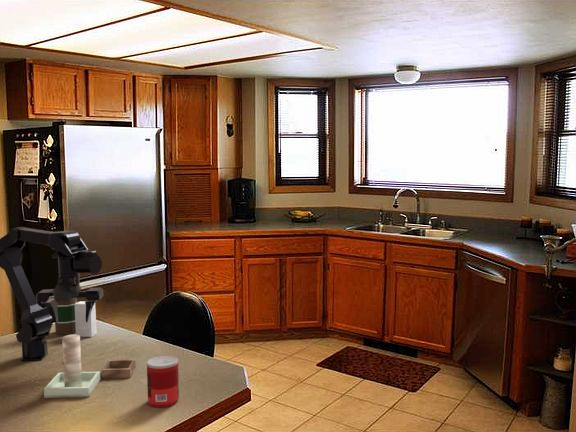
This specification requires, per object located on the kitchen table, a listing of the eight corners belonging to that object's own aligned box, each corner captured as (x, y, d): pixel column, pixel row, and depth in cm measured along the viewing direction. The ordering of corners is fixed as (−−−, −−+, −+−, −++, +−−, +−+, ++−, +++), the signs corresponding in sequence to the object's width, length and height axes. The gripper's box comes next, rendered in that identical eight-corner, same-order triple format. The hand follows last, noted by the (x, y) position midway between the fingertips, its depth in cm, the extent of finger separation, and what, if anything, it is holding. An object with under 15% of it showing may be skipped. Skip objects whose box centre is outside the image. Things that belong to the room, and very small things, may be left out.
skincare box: (97, 333, 204) (95, 301, 203) (91, 337, 199) (90, 304, 198) (80, 333, 204) (79, 300, 203) (75, 336, 200) (74, 303, 199)
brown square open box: (102, 378, 162) (101, 369, 162) (108, 367, 170) (108, 359, 170) (130, 377, 163) (130, 369, 163) (136, 367, 171) (135, 359, 171)
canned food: (184, 401, 147) (184, 360, 146) (158, 411, 141) (157, 368, 140) (167, 392, 152) (166, 353, 151) (142, 402, 147) (140, 361, 145)
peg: (60, 388, 154) (58, 338, 152) (72, 382, 158) (70, 333, 156) (73, 390, 152) (71, 340, 150) (85, 384, 156) (83, 335, 155)
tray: (44, 398, 149) (43, 389, 149) (58, 381, 160) (58, 372, 160) (89, 396, 150) (88, 387, 149) (100, 379, 161) (100, 371, 161)
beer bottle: (82, 330, 208) (80, 266, 205) (68, 336, 200) (65, 270, 198) (65, 328, 210) (63, 265, 208) (50, 334, 203) (47, 268, 201)
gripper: (27, 278, 163) (30, 331, 164) (92, 276, 164) (95, 328, 165) (41, 271, 174) (44, 320, 175) (102, 269, 175) (105, 318, 176)
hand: (71, 322), depth 173 cm, fingers open, 9 cm apart
